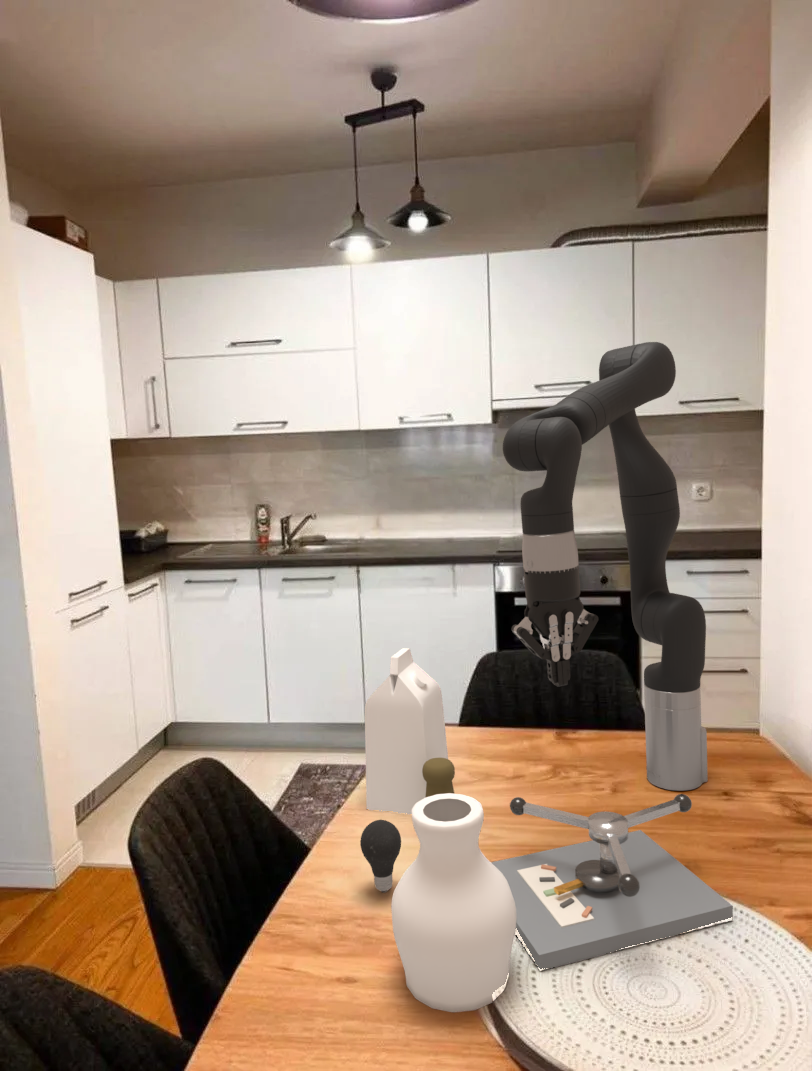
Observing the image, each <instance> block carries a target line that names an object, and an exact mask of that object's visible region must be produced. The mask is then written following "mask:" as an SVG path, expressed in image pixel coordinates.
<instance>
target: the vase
mask: <svg viewBox="0 0 812 1071" xmlns="http://www.w3.org/2000/svg"><path fill="white" fill-rule="evenodd" d="M411 821H412V826H413V829H414V832H415V834H416V836H417V838H418V841H419V850H418V855H417V856H416V858H415V860H413V861H412V863H411V864H410V865H408V867H407V869H405V871H404V872H403V874H402V875H401V878H400V879H399V881H398V883H397V884H396V887H395V888H394V890H393V894H392V897H391V922H392V923H391V924H392V932H393V938H394V941H395V944H396V947H397V951H398V953H399V957H400V961H401V964H402V967H403V970H404V976H405V983H406V988H407V989H409V991H410V993H411V994H412V995H413V997H414V999H415V1000H418V1001H419V1002H420V1003H422V1004H424V1005H425V1006H427V1007H430V1008H431V1009H433V1010H439V1011H443V1012H449V1013H461V1012H471V1011H477V1010H478V1009H481V1008H483V1007H485V1006H488V1005H489V1004H493V1002H492V994H493V992H495V990H497V989H498V988H499V987H501V986H502V985H504V984H505V982H506V979H507V975H508V973H509V974H510V964H511V963H510V962H511V956H512V955H511V954H512V949H513V944H514V940H515V936H516V935H515V929H516V919H517V917H516V906H515V902H514V899H513V896H512V893H511V890H510V887H509V885H508V882H507V880H506V878H505V877H504V875H503V874H502V873H501V872H500V871H499V870H498V869H497V868H496V867H495V866H494V865H493V864H492V863H491V862H492V861H490V860H489V859H488V858H487V857H486V856H485V854H484V853H483V852H482V850H481V848H480V847H479V846H480V845H479V837H480V834H481V830H482V827H483V823H484V809H483V805H482V803H481V802H480V801H478V800H477V799H476V798H474V797H472V796H468V795H466V794H462V793H461V794H460V793H454V794H453V793H447V794H436V795H433V796H429V797H426V798H424V799H422V800H420V801H419V802H417V803H416V804H415V805H414V807H413V808H412V815H411Z"/></svg>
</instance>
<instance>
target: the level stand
mask: <svg viewBox="0 0 812 1071" xmlns="http://www.w3.org/2000/svg"><path fill="white" fill-rule="evenodd" d="M620 846H621V849H622V851H623V854H624V856H625V859H626V862H627V864H628V867H629V870H630V872H631V874H632V875H634V876H635V877H636V878H637V879H638V881H639V884H640V889H639V892H638V893H637V894H636V895H635V896H633V897H628V896H625V895H623V894H622V893H621V892H620V890H619V889H617V890H615V891H612V892H607V893H598V892H592V891H589V890H586V889H584V888H582V887H580V888H577V889H574V890H572V891H569V892H566V893H564V894H561V895H557V894H556V893H555V892H554V887H556V886H559V885H562V884H565V883H567V882H570V881H573V880H576V878H575V869H576V867H577V866H578V865H579V864H580V863H582V862H584V861H588V860H600V849H599V843H597V842H595V841H593V840H592V839H591V840H589V841H588V840H587V841H583V842H579V843H575V844H569V845H566V846H560V847H555V848H552V849H551V848H550V849H546V850H542V851H537V852H532V853H529V854H523V855H518V856H514V857H510V858H505V859H504V858H503V859H501V860H500V859H499V860H495V861H490V862H491V863H492V864H493V865H494V866H495V867H496V868H497V869H498V870H499V871H500V872H501V873H502V874H503V875H504V877H505V878H506V880H507V882H508V885H509V887H510V890H511V893H512V896H513V899H514V902H515V906H516V917H517V919H516V928H517V930H518V932H519V934H520V936H521V937H522V939H523V941H524V943H525V944H526V946H527V948H528V949H529V951H530V953H531V954H532V957H533V958H534V960H535V962H536V964H537V965H538V967H539V968H540V969H542V968H543V969H544V968H545V969H546V968H551V969H554V968H553V967H555V968H558V967H562V966H565V965H569V964H573V963H577V962H582V961H585V960H588V959H589V960H590V959H592V958H597V957H599V956H605V955H607V954H606V953H608V954H611V953H610V952H612V953H615V952H614V951H616V950H619V949H621V948H625V947H628V946H632V945H637V944H640V943H645V942H649V941H652V940H656V939H660V938H665V937H669V936H673V937H675V936H674V935H677V934H680V933H683V932H687V931H689V930H692V929H695V928H698V927H701V926H705V925H709V924H711V923H715V922H718V921H721V920H725V919H728V918H731V917H733V916H734V914H733V912H734V911H733V904H731V903H730V902H729V901H727V900H726V899H725V898H724V897H723V896H721V895H720V894H719V893H718V892H717V891H716V890H714V889H713V888H712V887H711V886H710V885H708V884H707V883H705V882H704V881H703V880H702V879H701V878H700V877H698V876H697V875H696V874H695V873H694V872H693V871H691V870H690V869H689V868H687V867H686V866H685V865H683V864H682V862H680V861H679V860H678V859H677V858H675V857H674V856H673V855H672V854H670V853H669V852H668V851H666V849H664V848H663V847H662V846H661V845H659V844H658V843H657V842H656V841H654V840H653V839H652V838H651V837H649V835H647V834H646V833H645V832H644V831H643V830H641V829H638V830H635V831H630V832H629V831H628V839H627V841H625V842H624V843H622V844H620ZM677 936H678V935H677ZM669 938H670V937H669ZM616 952H617V951H616Z"/></svg>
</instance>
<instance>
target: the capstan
mask: <svg viewBox="0 0 812 1071" xmlns="http://www.w3.org/2000/svg"><path fill="white" fill-rule="evenodd" d="M692 805H693V802H692V800H691V798H690V797H689V795H687V794H684V793H678V794H676V796H674V798H673V799H672V800H669V801H666V802H662V803H659V804H656V805H652V806H649V807H648V808H644V809H641V810H638V811H635V812H632V813H629V814H626V815H623V814H620V813H618V812H613V811H597V812H594V813H592V814H590V815H589V816H585V815H581V814H576V813H573V812H568V811H564V810H560V809H555V808H551V807H548V806H547V807H546V806H543V805H539V804H535V803H531V802H527V801H526V800H525V799H524V798H522V797H519V796H516V797H513V798H512V799H511V801H510V802H509V809H510V811H511V812H512V813H513V814H514V815H516V816H522V815H523V814H526V815H529V816H534V817H537V818H541V819H546V820H549V821H552V822H553V821H554V822H557V823H562V824H566V825H571V826H574V827H578V828H582V829H585V830H588V837H589V838H590V839H591V841H592V840H593V841H595V842H597V843H599V849H600V860H588V861H584V862H582V863H580V864H579V865H578V866H577V867H576V869H575V878H576V880H573V881H570V882H567V883H565V884H562V885H559V886H556V887H554V892H555V893H556V894H557V895H561V894H564V893H566V892H569V891H572V890H574V889H577V888H580V887H582V888H584V889H586V890H589V891H592V892H598V893H607V892H612V891H615V890H617V889H619V890H620V892H621V893H622V894H623V895H625V896H628V897H633V896H635V895H636V894H637V893H638V892H639V889H640V884H639V881H638V879H637V878H636V877H635V876H634V875H632V874H631V872H630V870H629V867H628V864H627V862H626V859H625V856H624V854H623V851H622V849H621V846H620V844H622V843H624V842H625V841H627V839H628V833H629V829H630V828H632V827H635V826H637V825H642V824H643V823H647V822H650V821H653V820H655V819H658V818H662V817H664V816H667V815H670V814H673V813H677V812H680V813H687V812H689V811H690V810H691V809H692Z"/></svg>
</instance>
